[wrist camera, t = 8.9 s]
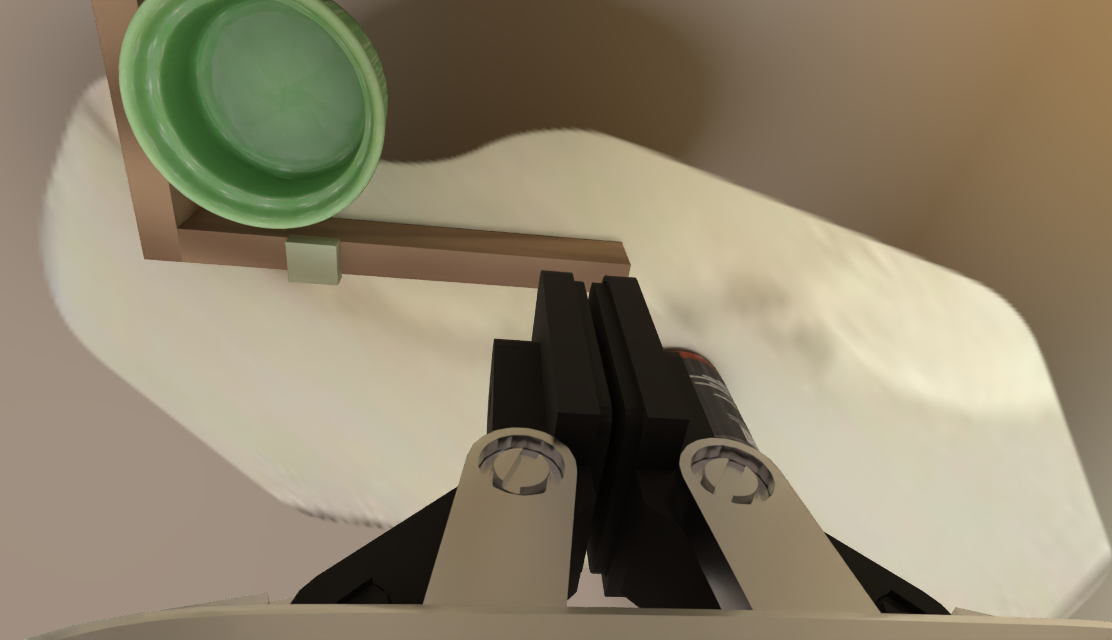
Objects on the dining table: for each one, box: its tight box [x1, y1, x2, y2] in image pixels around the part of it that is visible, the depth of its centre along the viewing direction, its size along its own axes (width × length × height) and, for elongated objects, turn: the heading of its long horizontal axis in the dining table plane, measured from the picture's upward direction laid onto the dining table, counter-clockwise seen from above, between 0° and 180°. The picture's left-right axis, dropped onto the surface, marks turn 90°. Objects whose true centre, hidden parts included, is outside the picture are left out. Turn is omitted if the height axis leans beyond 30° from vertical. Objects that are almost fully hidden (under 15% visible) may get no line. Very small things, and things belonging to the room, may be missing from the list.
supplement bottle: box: [677, 351, 760, 452], centre depth 31 cm, size 6×6×11 cm
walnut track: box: [91, 0, 631, 292], centre depth 26 cm, size 14×20×3 cm
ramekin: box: [119, 0, 388, 229], centre depth 25 cm, size 9×9×4 cm
